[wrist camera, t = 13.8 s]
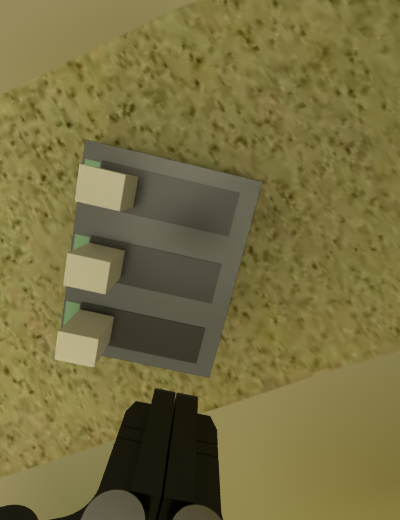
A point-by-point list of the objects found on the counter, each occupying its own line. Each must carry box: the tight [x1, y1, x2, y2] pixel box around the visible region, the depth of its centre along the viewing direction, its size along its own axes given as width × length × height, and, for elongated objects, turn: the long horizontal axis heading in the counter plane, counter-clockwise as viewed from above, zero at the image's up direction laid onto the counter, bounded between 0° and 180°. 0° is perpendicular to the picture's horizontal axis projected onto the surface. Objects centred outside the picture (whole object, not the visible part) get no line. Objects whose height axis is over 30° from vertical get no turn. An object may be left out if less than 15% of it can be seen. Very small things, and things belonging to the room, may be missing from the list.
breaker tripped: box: [63, 243, 125, 294], centre depth 23 cm, size 3×2×4 cm
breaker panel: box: [61, 140, 262, 378], centre depth 27 cm, size 14×18×3 cm
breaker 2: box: [55, 309, 114, 367], centre depth 24 cm, size 3×2×4 cm
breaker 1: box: [75, 164, 138, 211], centre depth 21 cm, size 3×2×4 cm
